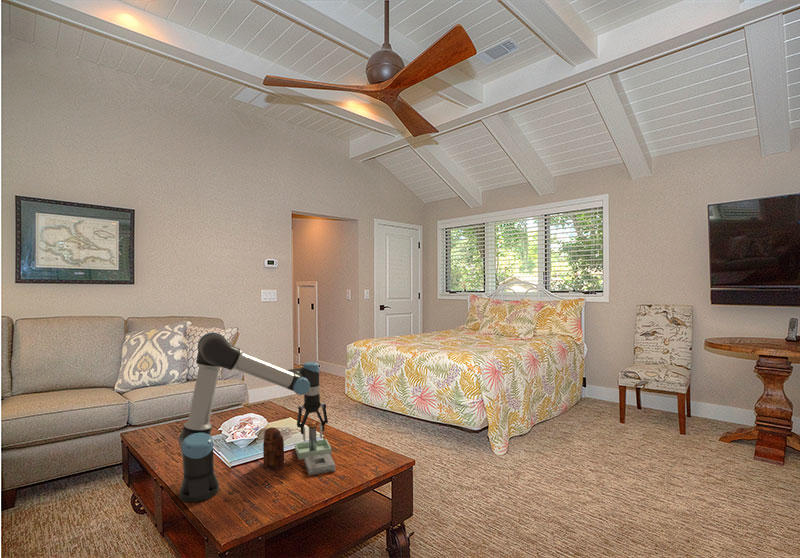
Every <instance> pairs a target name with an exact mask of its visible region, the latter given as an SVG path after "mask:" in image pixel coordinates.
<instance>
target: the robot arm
mask: <svg viewBox="0 0 800 558" xmlns="http://www.w3.org/2000/svg"><path fill="white" fill-rule="evenodd" d="M196 355H197V356H196V361H195V364H196V365H197V366H198V371H197V375H196V380H195V385H194V390H193V396H192V401H191V404H190V405H191V406H190V410H189V415H188V420H187V421H185V422H184V423H183V426H182V431H181V432H180V434H179V438H178V444H179V447H180V452H181V456H182V467H183V468H182V470H183V473H182V474H183V478H182V481H181V483H180V484H181V485H180V488H179V493H178V494H179V499H180V500H181V501H183V502H187V503H198V502H202V501H206V500H208V499H210V498H213V497H214V496H216V495H217V494H218V492H219V491H220V483H219V481H218V477H217V475H216V474H215V473H216V472H215V461H214V445H215V443H214V439H213V437H212V435H211V432H212V427H213V425H212V424H211V422H210V419H211V413H212V410H213V409H212V408H213V403H214V399H215V393H216V388H217V384H218V383H217V382H218V378H219V373H220V370H221V368H223V369H226V370H228V371H233V370H236V371H239V372H241V373H244V374H247V375H250V376H253V377H254V378H255V377H256V378H257V379H260V380H263V381H265V382H269V383H271V384H274V385H277V386H279V387H282V388H285V389H288V390H289V391H293V392H294V393H295V394H297V395H299V396H303V401H304V402H303V404H302V405H298V406H297V410H298V411H297V412H298V413H297V419H296V426H297V428H300V434H301V435H302V440H303V442H306V426H305V425H306V423H307V419H308V417H309V416H310V414H312V413H316V414H317V418H318V420H319V421H320V423H319V438H320V440H323V432H325V426H326V425H327V424H329V420H328V416H327V415H328V414H327V411H326V410H327V404H326V403H325V402H323V403H321V399H320V398H321V397H320V396H321V394H320V392H321V391H320V373H321V371H320V364H319V363H318V362H316V361H307V362H304V363H303V366H302V367H300V368H292V369H285V368H283V367H280V366H277V365H275V364H273V363H270V362H268V361H266V360H262V359H260V358H257V357H255V356H252V355H250V354H247V353H245V352H243V351H242V349H241V348H239V347H237V346H234V345H233V344H232V343H230V342H229V341H228V340H227V339H226V338H225V336H224V335H223V334H220V333H219V332H208V333H205V334H203V335H202V336H201V337H200V338H199V340H198V342H197V354H196ZM320 407H321V409H322V413H323V418H322V415H321V413H320V412H319V409H320ZM303 410H305V412H304V415H303V417H302V413H303V412H302V411H303Z"/></svg>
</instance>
